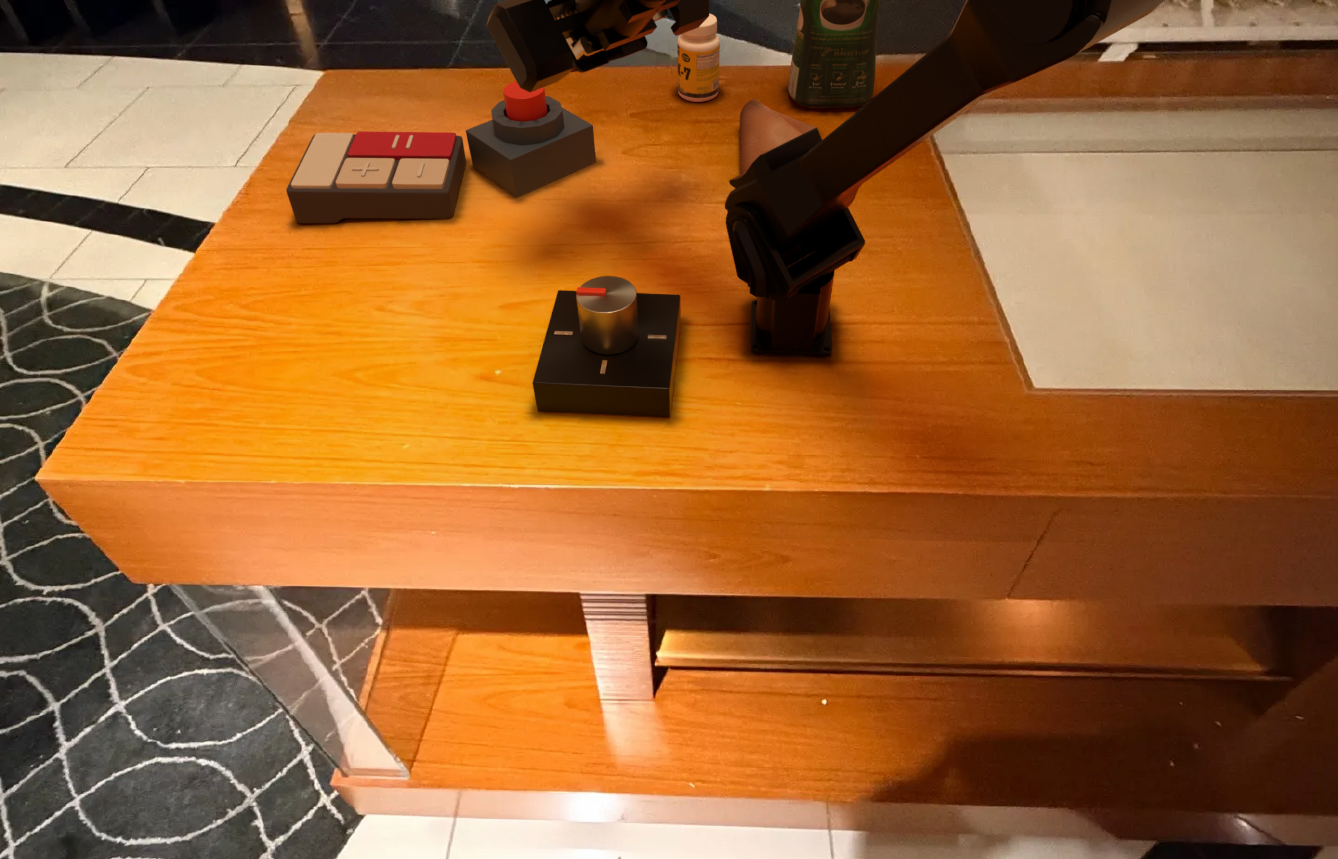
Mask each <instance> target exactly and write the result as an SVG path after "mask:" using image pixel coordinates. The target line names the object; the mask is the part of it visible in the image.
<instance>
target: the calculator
mask: <svg viewBox="0 0 1338 859" xmlns="http://www.w3.org/2000/svg"><path fill="white" fill-rule="evenodd" d="M464 146H465V145H464V139H463V137H462V136H461V135H457V133H456V132H449V131H448V132H443V131H441V132H439V131H436V132H435V131H367V130H365V131H364V130H363V131H357V132H356V133H355V134H354V133H352V132H316V133H314V134H313V136H312V137H311V139H310V141H309V142H308V145H307V147H306V150H305V151H304V153H303V155H302V157H301V159H300V161H299V163H298V165H297V167H296V168H295V171H294V173H293V175H292V176H291V179H290V181H289V183H288V184H287V187H286V189H285V191H286V195H287V197H288V200H289V203H290V207H291V209H292V213H293V216H294V219H295V221H296V223H297V224H336V223H338V222H340V221H341V220H343V219H413V220H414V219H420V220H421V219H423V220H424V219H425V220H427V219H430V220H432V219H433V220H440V219H441V220H448V219H452V218H453V217H454V213H455V210H456V206H457V203H458V202H457V201H458V198H459V193H460V189H461V186H462V181H463V177H464V173H465V168H466V164H467V159H466V152H465V147H464Z"/></svg>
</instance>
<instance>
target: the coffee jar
mask: <svg viewBox="0 0 1338 859" xmlns="http://www.w3.org/2000/svg"><path fill="white" fill-rule="evenodd" d="M880 1H881V0H800V3H799V13H798V19H797V26H796V32H795V37H794V42H793V49H792V54H791V61H790V67H789V75H788V84H787V85H788V88H787V91H788V94H789V97H790V99H791V100H792V101H793V102H794V103H796V104H798V105H799V106H801V107H804V108H813V109H847V108H848V109H849V108H858V107H863V106H864V105H865V104H866V103H868V102H869V101H870V100H871V99H872V98H873V95H874V89H875V81H876V80H875V79H876V64H877V63H876V62H877V61H876V60H877V36H878V20H879V9H880Z"/></svg>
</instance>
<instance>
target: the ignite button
mask: <svg viewBox="0 0 1338 859" xmlns="http://www.w3.org/2000/svg"><path fill="white" fill-rule="evenodd" d="M545 89H546V88H545V87H543V88H540V89H538V90H535V91H533V92H528V91H526V90H524V89H521V88H520V86H519V85H518V83H517V81H516V80H515V81H512V82H511V83H508V84H506V85H505V86H504V87H503V90H502V95H503V100H504V101H505V107H506V113H507V117H508V119H510V120H514V121H520V122H525V121H534V120H537V119H540V118H542V117H545V116H546V115H547V104H546V97H545V96H546V90H545Z"/></svg>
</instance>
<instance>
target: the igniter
mask: <svg viewBox="0 0 1338 859" xmlns="http://www.w3.org/2000/svg"><path fill="white" fill-rule="evenodd" d="M545 97H546V104H547V115H546V116H545V117H542V118H540V119H537V120H534V121H525V122H520V121H514V120H510V119H508V117H507V113H506V107H505V101H504V99H503V100H501V101H499V102H497V104H496V105H494V107H493V108H491V110H490V113H491V120H488V121H485V122H483V123H480V124H477V125H475V126H473V127H470V128H467V129H466V130H465V135H466V139H467V140H466V141H467V145H468V149H469V153H470V154H469V155H470V159H471V165H472V168H473V169H474V170H476V171H477V172H479V173H480V174H481V175H483V176H484V177H485V178H487V179H488V180H490V181H492V182H493V183H494V184H496V185H497V186H499V187H500V188H502V189H503V190H504V191H506V192H507V193H509V194H510V195H512V196H513V197H514V198H515V199H518V198H520V197H523V196H524V195H527V194H529V193H531V192H533V191H536V190H538V189H540V188H542V187H545V186H547V185H549V184H551V183H552V184H553V183H554V182H556V181H558V180H561V179H563V178H565V177H567V176H569V175H572V174H574V173H576V172H579V171H580V170H582V169H583V170H584V169H585V168H587V167H590V166H592V165H594V164H596V163H597V157H596V156H597V155H596V146H595V145H596V144H595V135H594V134H595V133H594V125H593V124H592V123H590V122H589V121H587V120H585V119H584V118H581V117H580V116H578V115H577V114H575V113H573V112H571V111H570V110H567V109H566V108H564V107H562V104H561V102H560V101H558V100H557V99H555V98H553V97H551V96H549V95H545Z"/></svg>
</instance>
